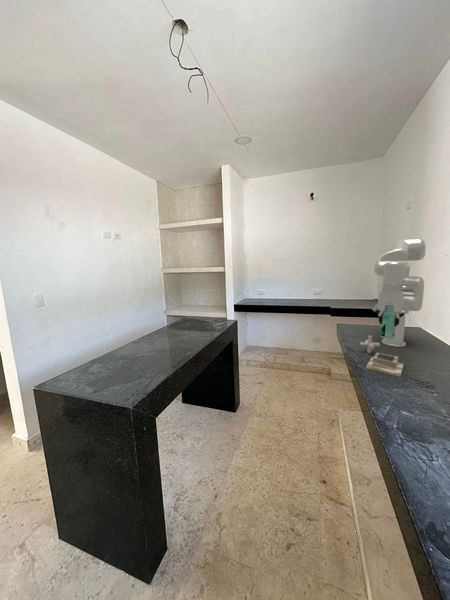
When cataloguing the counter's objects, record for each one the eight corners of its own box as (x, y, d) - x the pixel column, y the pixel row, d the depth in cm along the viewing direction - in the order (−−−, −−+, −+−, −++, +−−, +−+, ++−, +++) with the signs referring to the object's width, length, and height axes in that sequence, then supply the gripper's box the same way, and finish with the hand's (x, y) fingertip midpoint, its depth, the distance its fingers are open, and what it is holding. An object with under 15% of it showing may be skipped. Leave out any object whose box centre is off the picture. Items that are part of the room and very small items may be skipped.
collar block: (371, 358, 132) (372, 349, 131) (403, 365, 123) (404, 356, 122) (366, 368, 122) (366, 358, 121) (400, 376, 113) (401, 366, 112)
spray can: (392, 336, 121) (396, 296, 117) (395, 339, 116) (398, 298, 112) (379, 335, 123) (383, 296, 120) (381, 338, 118) (385, 297, 115)
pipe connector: (382, 356, 135) (383, 339, 133) (362, 355, 137) (363, 338, 135) (375, 349, 145) (376, 333, 143) (356, 348, 147) (357, 333, 145)
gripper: (414, 288, 112) (411, 325, 116) (372, 286, 124) (369, 320, 127) (413, 290, 107) (409, 329, 110) (369, 287, 118) (366, 323, 121)
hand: (388, 324), depth 118 cm, fingers closed on spray can, 5 cm apart
